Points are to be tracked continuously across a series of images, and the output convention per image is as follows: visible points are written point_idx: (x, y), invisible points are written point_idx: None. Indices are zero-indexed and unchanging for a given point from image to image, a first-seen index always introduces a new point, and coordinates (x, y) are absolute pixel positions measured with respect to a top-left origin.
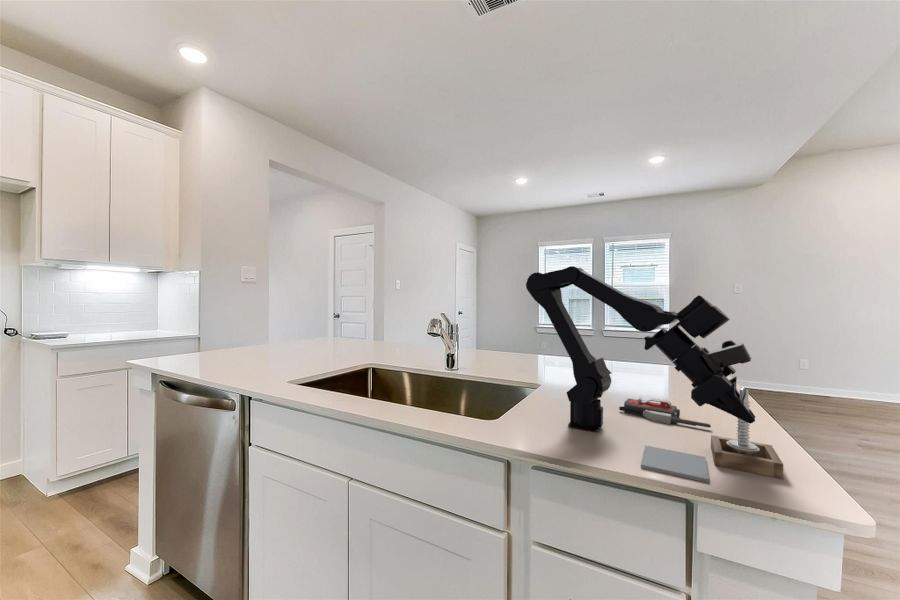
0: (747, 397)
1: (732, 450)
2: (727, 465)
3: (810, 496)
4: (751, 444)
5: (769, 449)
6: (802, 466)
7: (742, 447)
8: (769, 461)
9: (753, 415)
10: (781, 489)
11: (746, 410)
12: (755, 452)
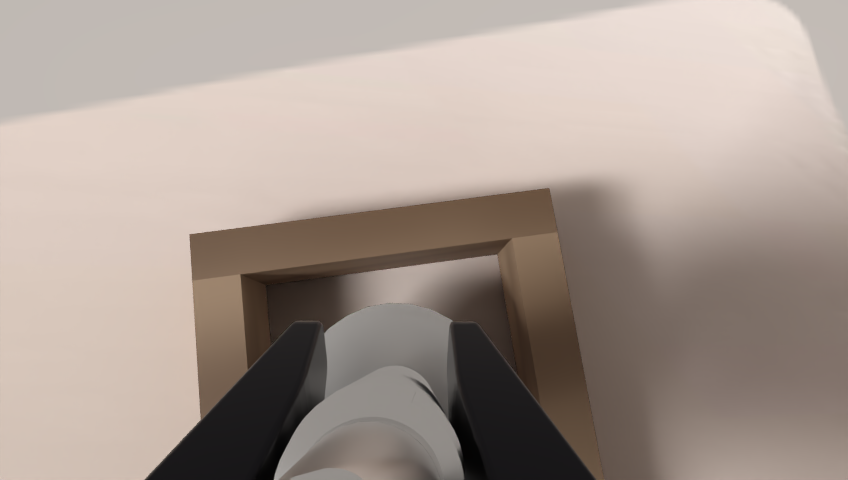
0: (419, 452)
1: None
2: None
3: (664, 122)
4: (358, 350)
5: (301, 247)
6: (253, 118)
7: None
8: (557, 254)
9: (320, 338)
10: (676, 223)
11: (554, 425)
12: None
